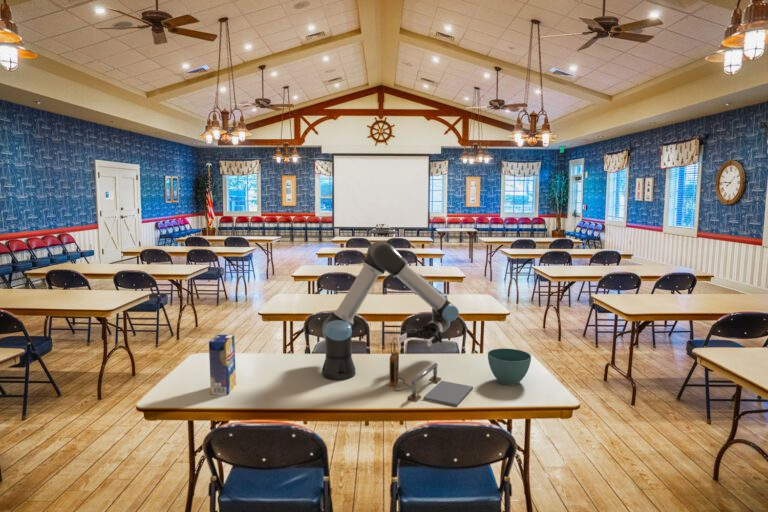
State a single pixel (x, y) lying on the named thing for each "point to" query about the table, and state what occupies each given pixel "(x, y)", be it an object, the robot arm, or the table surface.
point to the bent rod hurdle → (432, 379)
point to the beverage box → (222, 364)
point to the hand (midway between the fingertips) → (413, 341)
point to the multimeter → (394, 368)
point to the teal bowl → (509, 365)
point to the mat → (448, 393)
